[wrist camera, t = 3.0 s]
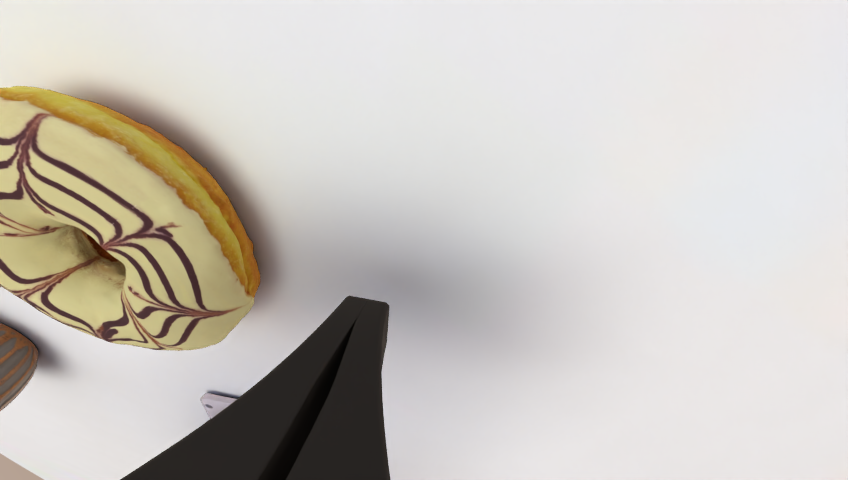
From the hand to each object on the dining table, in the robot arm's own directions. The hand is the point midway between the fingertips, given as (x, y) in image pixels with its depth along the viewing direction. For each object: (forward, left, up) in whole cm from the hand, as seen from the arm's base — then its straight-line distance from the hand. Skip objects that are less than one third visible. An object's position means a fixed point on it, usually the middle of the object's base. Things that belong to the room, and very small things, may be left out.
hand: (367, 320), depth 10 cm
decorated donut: (0, +11, -4) cm, 11 cm away
